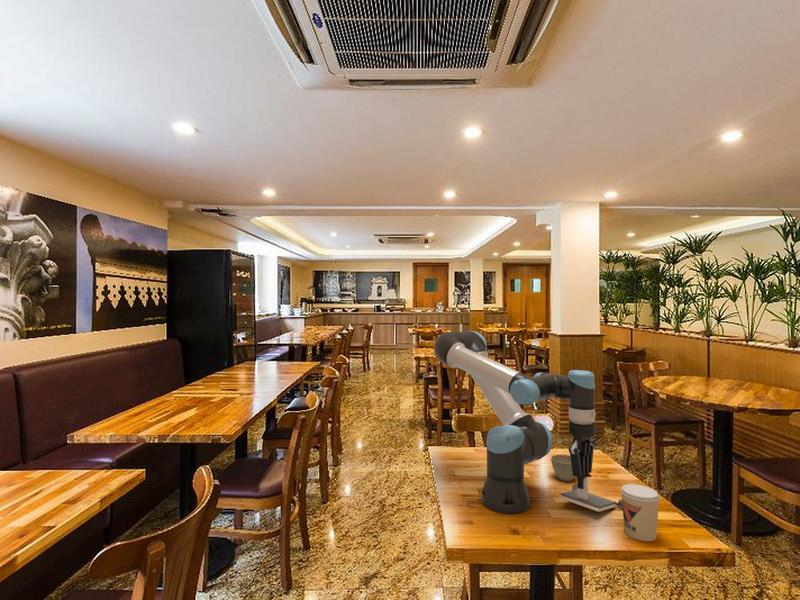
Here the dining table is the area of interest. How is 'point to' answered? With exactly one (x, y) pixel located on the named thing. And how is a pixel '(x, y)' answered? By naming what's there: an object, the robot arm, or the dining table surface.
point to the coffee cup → (640, 511)
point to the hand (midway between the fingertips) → (582, 498)
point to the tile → (589, 501)
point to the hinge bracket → (616, 503)
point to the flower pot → (562, 467)
